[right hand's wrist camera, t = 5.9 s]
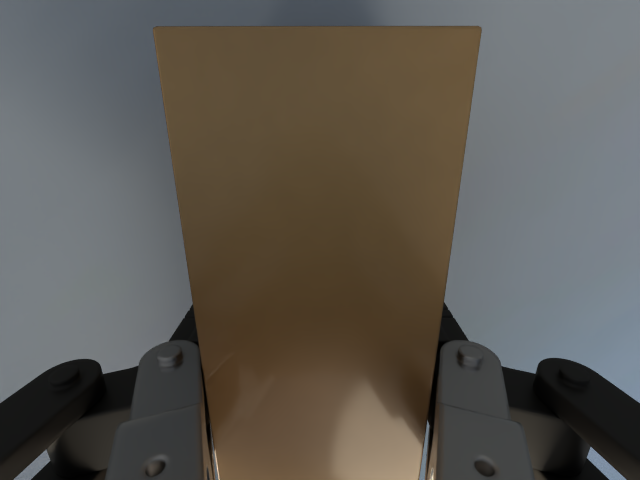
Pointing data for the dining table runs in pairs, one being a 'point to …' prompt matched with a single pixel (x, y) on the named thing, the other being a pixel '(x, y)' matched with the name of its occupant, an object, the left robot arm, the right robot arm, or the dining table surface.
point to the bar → (317, 234)
